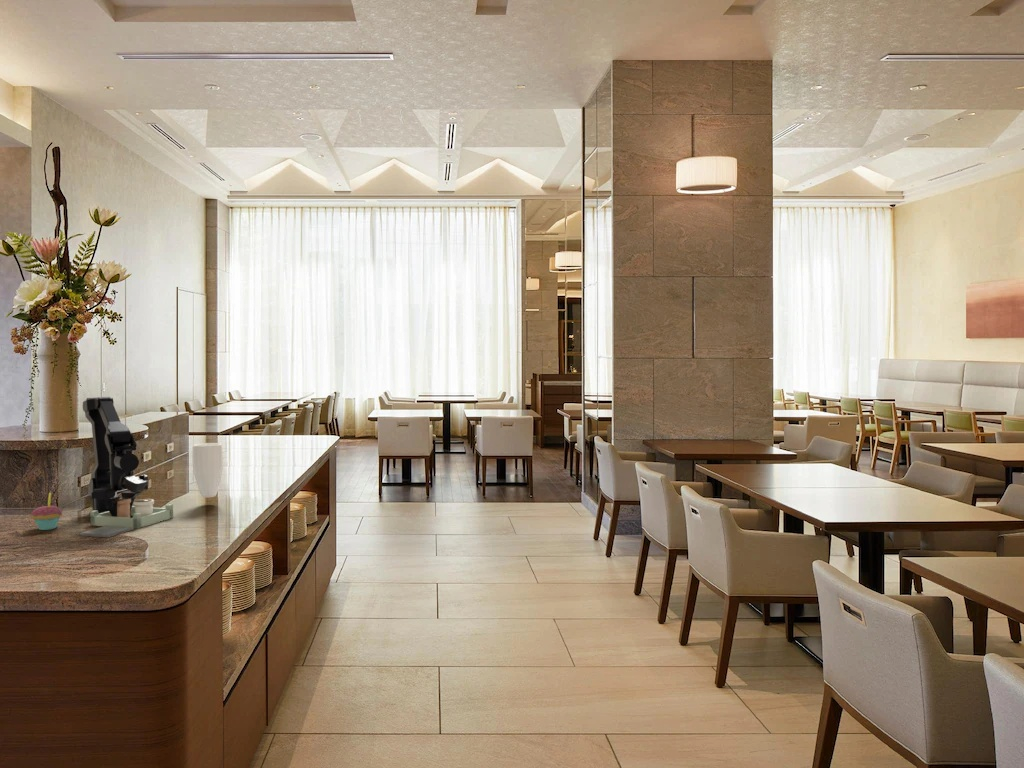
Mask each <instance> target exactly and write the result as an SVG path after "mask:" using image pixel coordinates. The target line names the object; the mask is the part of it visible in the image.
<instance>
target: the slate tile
mask: <svg viewBox="0 0 1024 768" xmlns="http://www.w3.org/2000/svg"><path fill="white" fill-rule="evenodd" d="M133 530H134V528H133V527H120V526H98V527H97V528H93V529H89V530H86V531H83V532H80V536H82V537H94V538H95V537H96V538H110V537H111V538H112V537H114V536H117V535H120V534H124V533H128V532H131V531H133Z"/></svg>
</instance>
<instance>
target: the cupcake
mask: <svg viewBox="0 0 1024 768" xmlns="http://www.w3.org/2000/svg"><path fill="white" fill-rule="evenodd" d="M47 498H48V499H47V500H48V501H47V505H42V506H39V507H36V508H35V509H33V510H32V511H31V513H30V516H29V517H30V518H31V520H33V521H35V524H36V526H37V528H38V530H39V531H40V530H41V531H43V530H44V531H46V530H49V531H50V530H54V529H56V528H57V527H58V523H59V521H60V518H61V516H62V515H63V510H62V509H61V508H59V506H56V505H51V501H52V491H51V490H50V491H49V493H48V497H47Z"/></svg>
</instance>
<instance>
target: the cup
mask: <svg viewBox="0 0 1024 768" xmlns="http://www.w3.org/2000/svg"><path fill="white" fill-rule="evenodd" d="M223 459H224V457H223V443H221V442H220V443H219V442H204V443H201V442H200V443H195V444H193V445H192V468H193V471H192V472H193V476H194V480H195V484H196V486H197V489H198V492H199V494H200V496H201V498H214V497H216V496H217V494H218V492H219V487H220V485H221V481H222V475H223V469H224V468H223V467H224V466H223V462H224V461H223Z"/></svg>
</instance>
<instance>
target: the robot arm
mask: <svg viewBox="0 0 1024 768" xmlns="http://www.w3.org/2000/svg"><path fill="white" fill-rule="evenodd" d="M114 404H115V402H114V398H113V397H111V396H99V397H98V396H97V397H87V398H86V399H85V400H84V401H83V402H82V410H83V412H84V415H85V418H86V419H87V421H88V422H89V423H90V424H91V431H92V442H93V443H92V444H93V452H94V464H95V466H94V468H93V470H92V472H91V474H90V475H91V476H90V477H91V478H90V480H89V483H88V486H87V494H88V495H89V496H90V498H91V499H92V511H94V510H95V511H98V514H99V513H103V512H107V511H109V512H110V513H111V515H112V516H113V517H117V501H118V500H119V499H120V498H131V503H130V511H131V508H132V506H134V505H133V501H135V500H136V497H137V496H139V495H140V494H142V492H144V491H147V490H149V476H148V475H147V474H141V475H139V476H135V475H134V471H135V470H136V469H138V467H139V464H140V459H139V458H138V456H137V455H136V454H134V453H133V452H134V451H137V447H138V445H137V442H136V439H135V437H134V435H133V432H132V431H131V430H130V428H129V427H128V426H127V425H126V424H123V423H122V421H121V419H120V418H119V415H118V412H117V410H116V408H115V405H114ZM118 494H121V496H118Z"/></svg>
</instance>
